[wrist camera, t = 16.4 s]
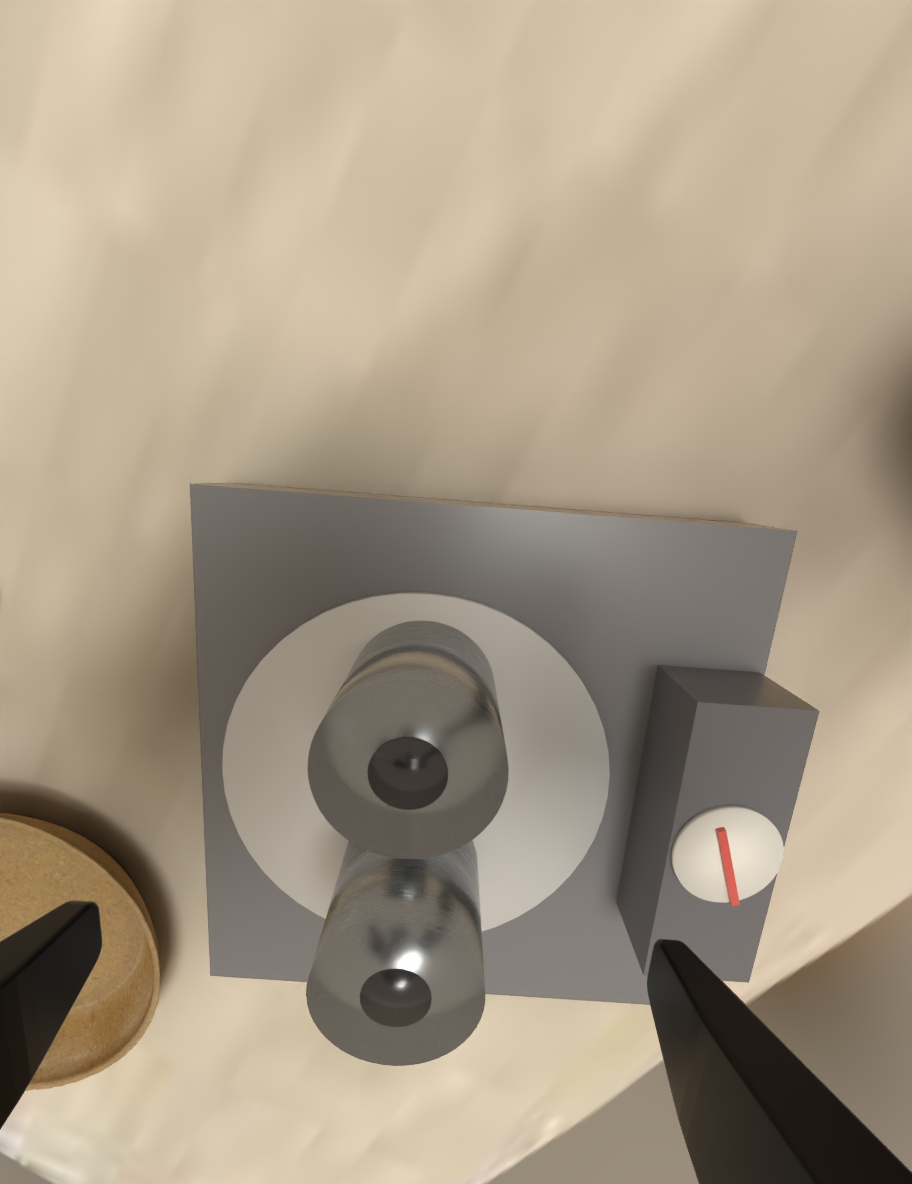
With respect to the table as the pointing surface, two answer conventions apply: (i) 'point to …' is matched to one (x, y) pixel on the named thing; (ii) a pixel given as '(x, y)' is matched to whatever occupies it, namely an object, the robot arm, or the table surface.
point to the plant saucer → (129, 946)
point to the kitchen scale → (507, 722)
